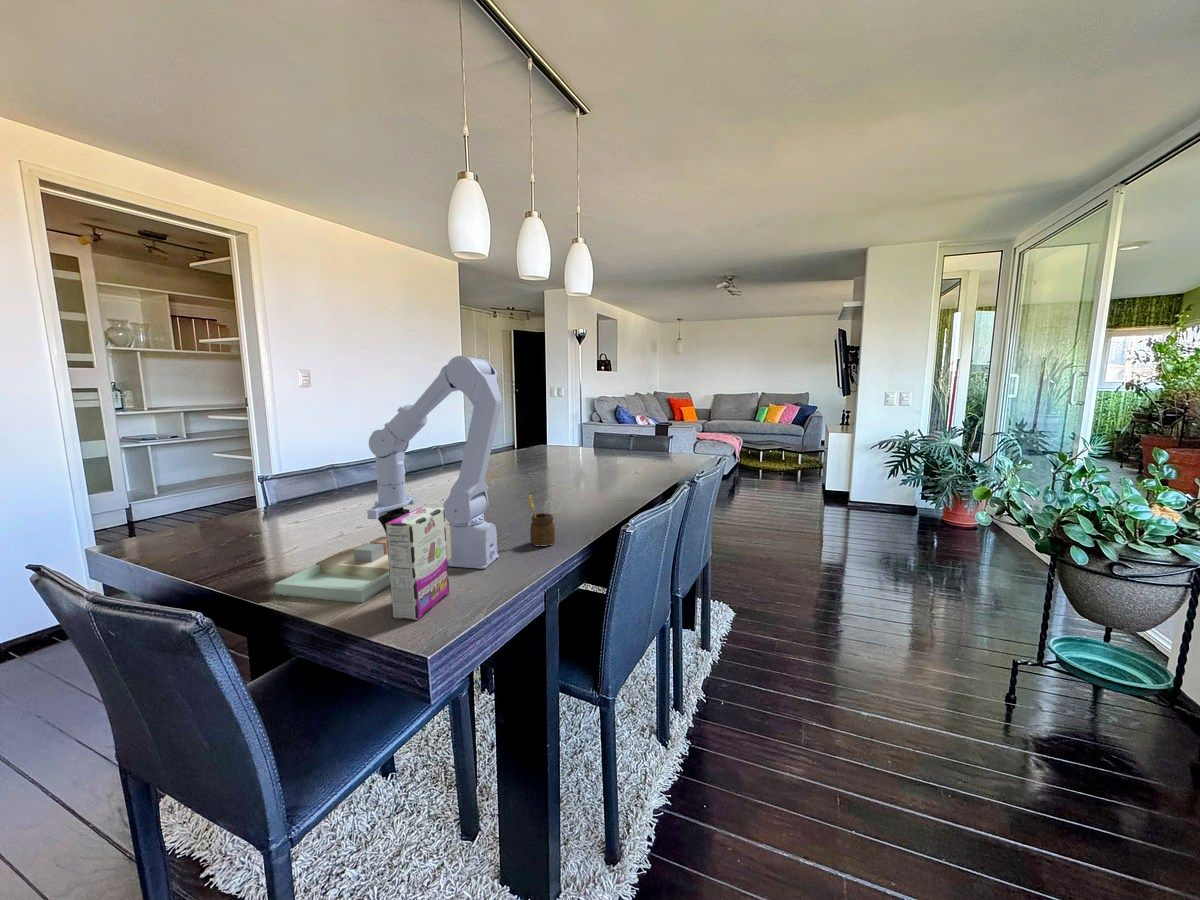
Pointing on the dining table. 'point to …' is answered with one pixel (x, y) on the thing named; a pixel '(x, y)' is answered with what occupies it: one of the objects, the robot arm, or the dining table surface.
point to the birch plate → (353, 565)
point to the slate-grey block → (368, 552)
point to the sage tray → (331, 586)
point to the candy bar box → (417, 562)
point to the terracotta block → (381, 541)
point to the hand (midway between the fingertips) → (394, 542)
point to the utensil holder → (542, 527)
